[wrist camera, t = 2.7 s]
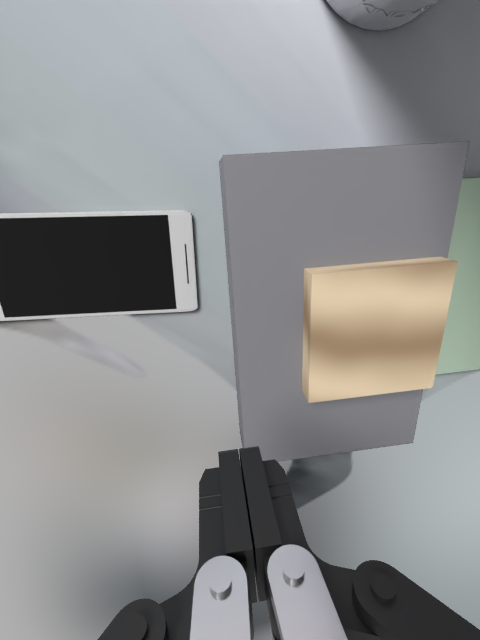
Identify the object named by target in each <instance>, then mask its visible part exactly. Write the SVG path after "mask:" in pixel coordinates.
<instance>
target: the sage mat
mask: <svg viewBox="0 0 480 640" xmlns="http://www.w3.org/2000/svg"><path fill="white" fill-rule="evenodd" d="M448 259H451V260H455V261H458V264H457V269H456V274H455V279H454V284H453V289H452V294H451V299H450V304H449V309H448V314H447V319H446V324H445V329H444V334H443V339H442V344H441V349H440V354H439V359H438V364H437V369H436V374H445V373H453V372H461V371H470V370H478V369H480V178H465V179H462V184H461V189H460V194H459V200H458V205H457V210H456V216H455V221H454V226H453V232H452V237H451V242H450V248H449V253H448ZM436 374H435V375H436Z"/></svg>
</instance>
